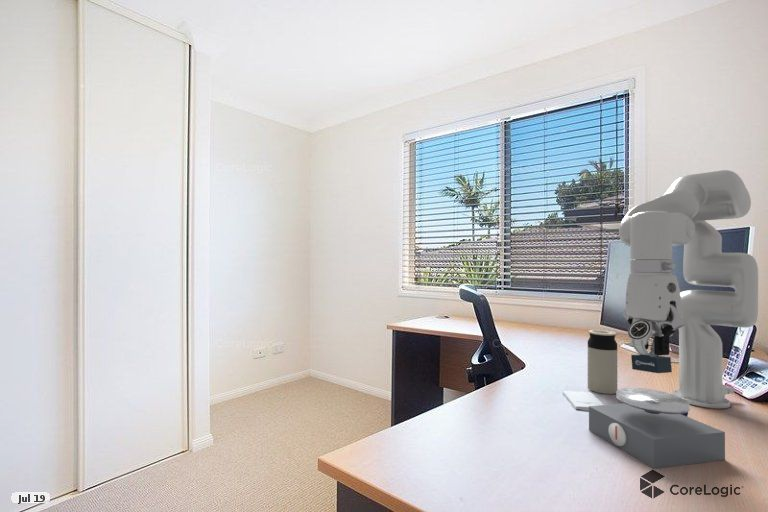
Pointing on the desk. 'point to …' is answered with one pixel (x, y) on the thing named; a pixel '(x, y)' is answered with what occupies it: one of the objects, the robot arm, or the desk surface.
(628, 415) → the scale
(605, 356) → the travel mug
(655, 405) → the scale pan
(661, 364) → the watch
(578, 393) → the external hard drive
